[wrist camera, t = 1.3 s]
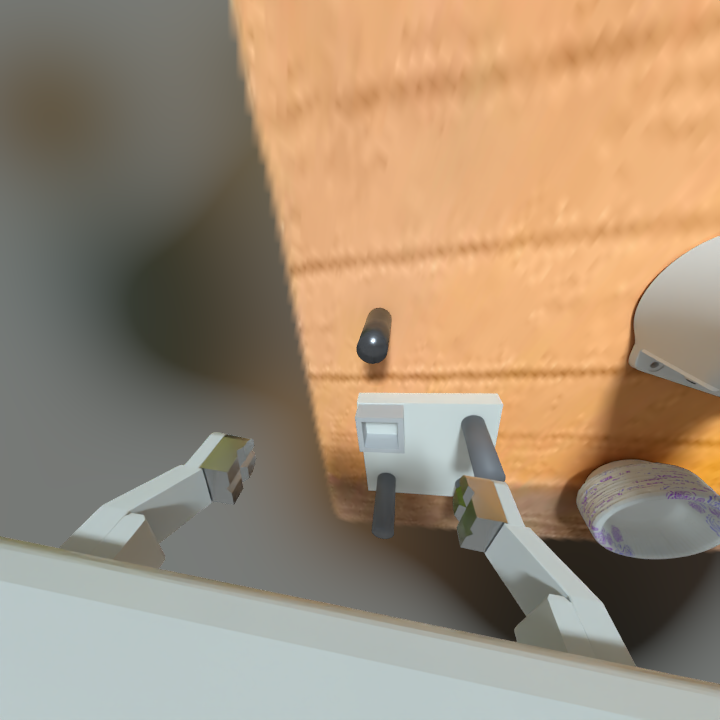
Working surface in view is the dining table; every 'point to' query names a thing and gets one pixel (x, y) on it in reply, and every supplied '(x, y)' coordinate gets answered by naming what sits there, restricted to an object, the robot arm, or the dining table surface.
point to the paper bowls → (650, 510)
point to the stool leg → (375, 336)
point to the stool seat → (425, 445)
